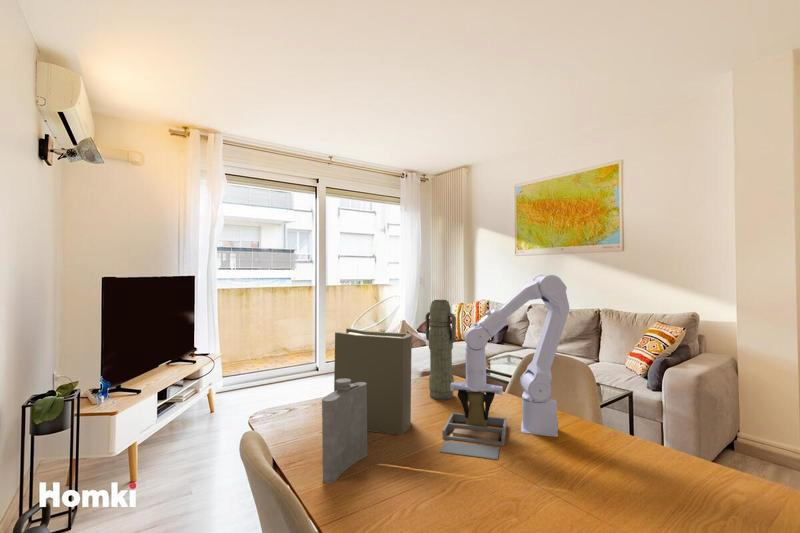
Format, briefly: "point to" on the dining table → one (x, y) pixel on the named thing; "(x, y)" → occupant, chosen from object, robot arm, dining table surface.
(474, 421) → the cork
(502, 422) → the rack
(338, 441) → the hip flask
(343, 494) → the dining table surface
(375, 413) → the book
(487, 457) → the slate mat
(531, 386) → the robot arm
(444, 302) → the thermos
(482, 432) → the top offcut
